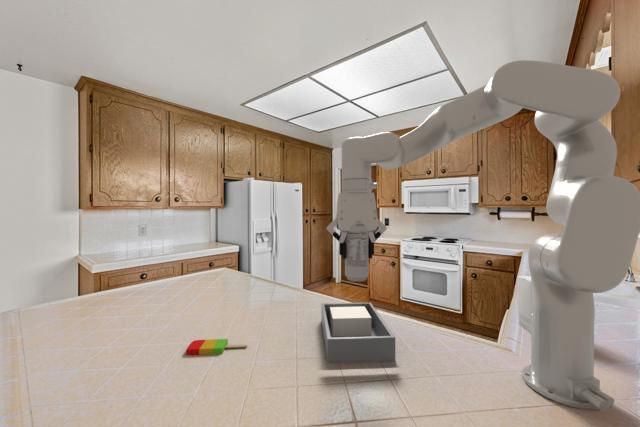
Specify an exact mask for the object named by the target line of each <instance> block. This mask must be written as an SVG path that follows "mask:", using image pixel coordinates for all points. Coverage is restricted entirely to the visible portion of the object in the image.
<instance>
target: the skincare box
mask: <svg viewBox="0 0 640 427" xmlns="http://www.w3.org/2000/svg"><path fill="white" fill-rule="evenodd" d="M516 278H517V279H516V280H517V281H516V282H517V308H518V324H519V325H520V326H521V327H523V328H524V329H526V330H527V331H528V332H529V333H531V331H532V285H531V276H530V275H529V276H528V275H518V276H517V277H516Z"/></svg>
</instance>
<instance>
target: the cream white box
mask: <svg viewBox="0 0 640 427" xmlns="http://www.w3.org/2000/svg"><path fill="white" fill-rule="evenodd" d="M330 326H331V331H332V335H333V336H365V335H371V316H370V315H369V313H368V311H367V310H366V308H365V306H360V307H330Z"/></svg>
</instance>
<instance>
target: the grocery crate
mask: <svg viewBox="0 0 640 427" xmlns="http://www.w3.org/2000/svg"><path fill="white" fill-rule="evenodd" d="M360 306H365V308H366V310H367V311H368V313H369V315H370V316H371V335H365V336H333V335H332V331H331V326H330V307H360ZM321 326H322V333H323V340H324V349H325V355H326V360H327V364H335V363H342V364H343V363H365V362H366V363H369V362H370V363H372V362H395V361H396V336H395V335H394V333H393V331H391V329H390V328H389V326H388V325H387V323H386V322H385V321H384V319H383V318H382V316H381V315H380V313H379V312H378V311H377V309H376V308H375V307H374V305H373V303H372V302H331V303H330V302H329V303H321Z"/></svg>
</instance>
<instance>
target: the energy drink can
mask: <svg viewBox="0 0 640 427" xmlns="http://www.w3.org/2000/svg"><path fill="white" fill-rule="evenodd" d="M345 243H346V258H345V259H344V276H345V277H346V279H347V280H348V281H350V282H365V281H366V280H367V279H368V278H369V276H370V275H369V273H370V272H369V271H370V269H369V265H370V264H369V263H370V262H369V259H370V258H369V235H368V231H367V227H366V226H365V225H364V224H362V223H361V221H356V223H354V224H353V225H352V226H351V227H350V229H349V231H348V232H347V235H346V237H345Z"/></svg>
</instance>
